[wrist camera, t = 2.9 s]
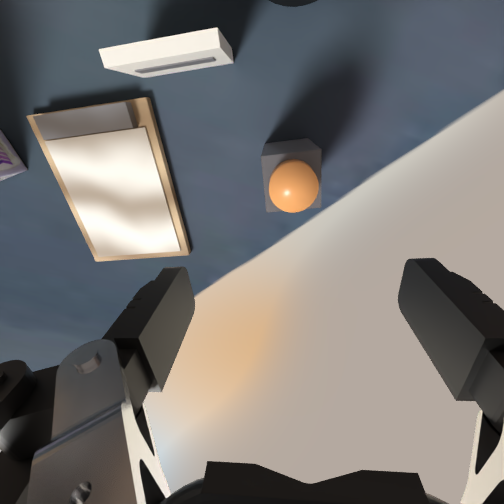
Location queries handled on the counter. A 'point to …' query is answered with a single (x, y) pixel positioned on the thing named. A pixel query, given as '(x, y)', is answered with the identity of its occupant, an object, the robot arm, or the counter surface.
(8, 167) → the cake pan box
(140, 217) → the clipboard
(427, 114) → the counter surface
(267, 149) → the ball-topped gray post
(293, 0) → the mug
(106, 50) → the block
